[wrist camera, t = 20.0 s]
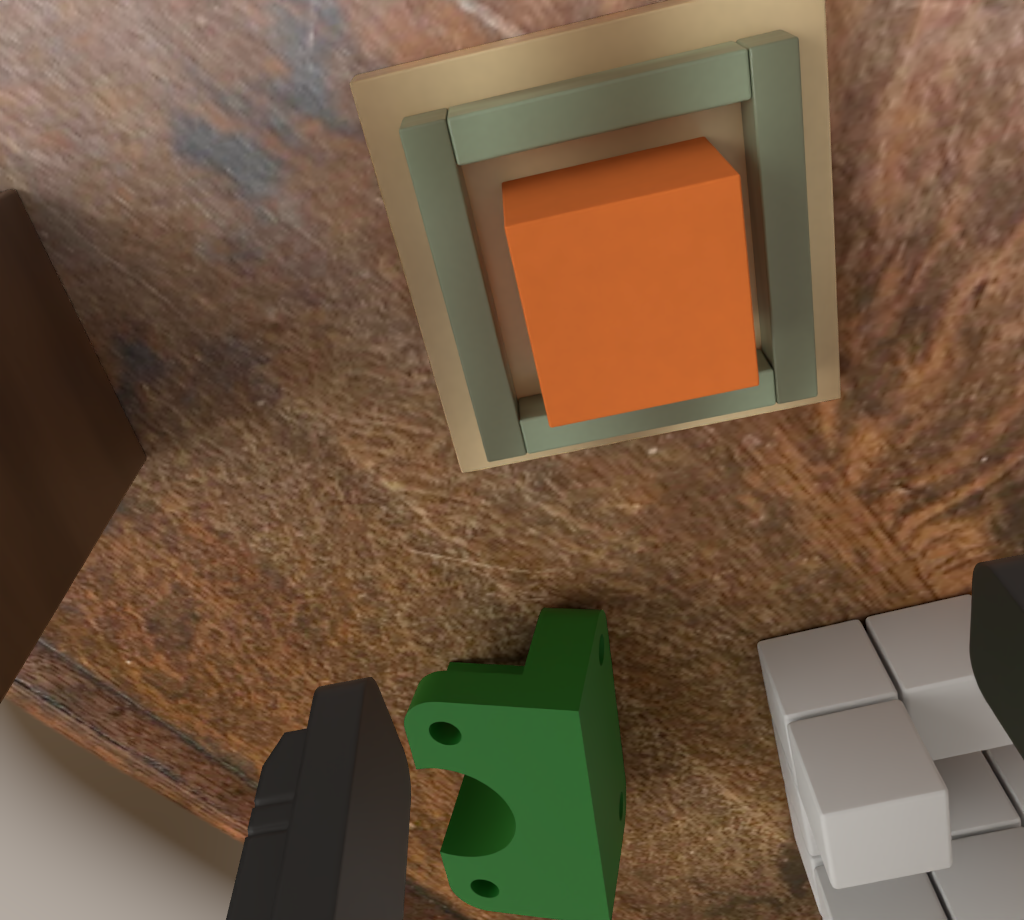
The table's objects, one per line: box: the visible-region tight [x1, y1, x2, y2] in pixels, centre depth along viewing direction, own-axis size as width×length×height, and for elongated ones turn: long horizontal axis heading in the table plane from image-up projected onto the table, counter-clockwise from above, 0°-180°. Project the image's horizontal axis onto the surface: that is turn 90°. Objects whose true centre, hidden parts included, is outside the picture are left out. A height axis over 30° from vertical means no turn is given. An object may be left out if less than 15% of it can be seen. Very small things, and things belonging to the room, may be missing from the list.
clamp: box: [404, 608, 626, 920], centre depth 35 cm, size 12×6×9 cm, turn 2°
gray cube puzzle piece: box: [757, 595, 1024, 920], centre depth 34 cm, size 12×12×8 cm
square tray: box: [350, 0, 841, 473], centre depth 26 cm, size 12×12×3 cm
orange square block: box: [502, 137, 759, 428], centre depth 25 cm, size 6×6×4 cm
